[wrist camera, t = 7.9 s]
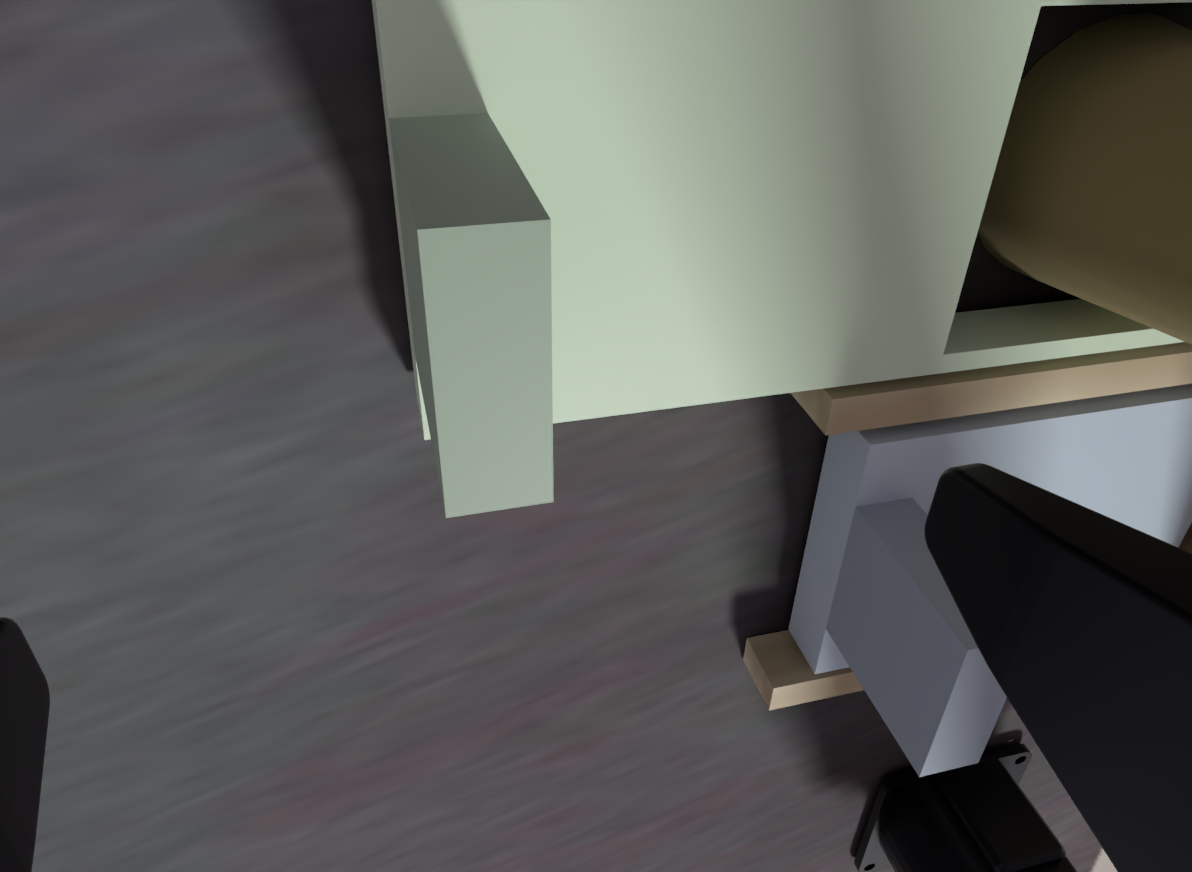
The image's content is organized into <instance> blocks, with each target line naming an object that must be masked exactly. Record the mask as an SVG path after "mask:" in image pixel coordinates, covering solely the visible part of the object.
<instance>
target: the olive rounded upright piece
mask: <svg viewBox="0 0 1192 872" xmlns="http://www.w3.org/2000/svg"><path fill="white" fill-rule="evenodd" d="M978 234H979V236H980V238H981V241H982V243H983V246H984V248H985V249H986V250H987V251H988V252H989V253H990V254H991V255H992V256H994V257H995V258H996V259H997V260H998V261H999V262H1000V263H1002V264H1003V265H1004V266H1005V267H1006V268H1009V269H1011V270H1014V271H1016V272H1018V273H1021V274H1023V275H1026V276H1028V277H1030V278H1033V279H1035V280H1038V281H1040V282H1043V283H1045V284H1047V285H1050V286H1052V287H1055V288H1057V289H1059V290H1062V291H1064V292H1067V293H1069V294H1071V295H1074V296H1076V297H1079V298H1081V299H1083V300H1086V301H1088V302H1091V303H1093V304H1095V305H1098V306H1100V307H1103V308H1105V309H1107V310H1110V311H1112V312H1115V313H1117V314H1119V315H1122V316H1124V317H1127V318H1129V319H1131V320H1134V321H1136V322H1139V323H1141V324H1143V325H1146V326H1148V327H1151V328H1153V329H1156V330H1158V331H1160V332H1163V333H1165V334H1168V335H1170V336H1172V337H1175V338H1177V339H1180V340H1182V341H1184V342H1187V343H1189V344H1192V30H1189V29H1187V28H1185V27H1183V26H1181V25H1179V24H1176V23H1174V22H1172V21H1170V20H1168V19H1166V18H1163V17H1161V16H1159V15H1157V14H1155V13H1153V14H1124V15H1116V16H1113V17H1111V18H1108V19H1106V20H1103V21H1101V22H1098V23H1096V24H1093V25H1091V26H1088V27H1086V28H1083V29H1081V30H1079V31H1077V32H1075V33H1074V34H1073V35H1071V36H1070V37H1069V38H1067V39H1066V40H1065V41H1063V42H1062V43H1061V44H1059V45H1058V46H1057V47H1055V48H1054V49H1053V50H1051V51H1050V52H1049V53H1047V54H1046V55H1045V56H1043V57H1042V58H1041V59H1039V60H1038V61H1037V63H1036V64H1035V65H1034V66H1033V67H1032V68H1031V70H1030V71H1029V72H1028V73H1027V74H1026V76H1025V77H1024V78H1023V79H1022V80H1021V81H1020V83H1019V87H1018V90H1017V94H1016V97H1015V101H1014V104H1013V108H1012V112H1011V115H1010V119H1009V122H1008V126H1007V129H1006V133H1005V136H1004V140H1003V144H1002V147H1001V151H1000V154H999V158H998V161H997V165H996V169H995V172H994V176H993V179H992V183H991V186H990V190H989V193H988V197H987V201H986V204H985V208H984V211H983V215H982V218H981V222H980V226H979V229H978Z"/></svg>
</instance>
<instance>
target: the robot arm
mask: <svg viewBox="0 0 1192 872" xmlns="http://www.w3.org/2000/svg"><path fill="white" fill-rule="evenodd" d="M924 533H925V540H926V544H927V547H928V549H929V551H930V553H931V555H932V557H933V559H934V561H935V563H936V565H937V567H938V569H939V571H940V573H941V575H942V577H943V579H944V581H945V583H946V585H947V587H948V589H949V591H950V593H951V595H952V597H953V599H954V601H955V603H956V605H957V607H958V609H959V611H960V613H961V615H962V617H963V619H964V621H965V623H966V625H967V627H968V629H969V631H970V633H971V635H972V637H973V639H974V641H975V643H976V645H977V647H978V649H979V651H980V653H981V654H982V656H983V658H984V660H985V662H986V664H987V666H988V667H989V669H990V671H991V672H992V674H993V676H994V677H995V679H996V681H997V682H998V684H999V686H1000V687H1001V689H1002V690H1003V692H1004V693H1005V695H1006V697H1007V698H1008V700H1009V701H1010V703H1011V704H1012V706H1013V708H1014V709H1015V711H1016V712H1017V714H1018V715H1019V717H1020V719H1021V720H1022V722H1023V723H1024V725H1025V726H1026V728H1027V730H1028V731H1029V733H1030V734H1031V736H1032V737H1033V739H1034V741H1035V742H1036V744H1037V745H1038V747H1039V748H1040V750H1041V752H1042V753H1043V755H1044V756H1045V758H1046V759H1047V761H1048V763H1049V764H1050V766H1051V767H1052V769H1053V770H1054V772H1055V774H1056V775H1057V777H1058V778H1059V780H1060V782H1061V783H1062V785H1063V786H1064V788H1065V789H1066V791H1067V793H1068V794H1069V796H1070V797H1071V799H1072V800H1073V802H1074V804H1075V805H1076V807H1077V808H1078V810H1079V811H1080V813H1081V815H1082V816H1083V818H1084V819H1085V821H1086V822H1087V824H1088V826H1089V827H1090V829H1091V830H1092V832H1093V833H1094V835H1095V837H1096V838H1097V840H1098V841H1099V843H1100V844H1101V846H1102V848H1103V849H1104V851H1105V852H1106V854H1107V855H1108V857H1109V859H1110V860H1111V862H1112V863H1113V865H1114V866H1115V868H1116V869H1117V871H1118V872H1192V553H1190V552H1187V551H1185V550H1183V549H1181V548H1178V547H1176V546H1174V545H1171V544H1169V543H1167V542H1164V541H1162V540H1160V539H1157V538H1155V537H1153V536H1151V535H1148V534H1146V533H1144V532H1141V531H1139V530H1137V529H1134V528H1132V527H1130V526H1128V525H1125V524H1123V523H1121V522H1118V521H1116V520H1114V519H1111V518H1109V517H1107V516H1104V515H1102V514H1100V513H1098V512H1095V511H1093V510H1091V509H1088V508H1086V507H1084V506H1081V505H1079V504H1077V503H1075V502H1072V501H1070V500H1068V499H1065V498H1063V497H1061V496H1058V495H1056V494H1054V493H1052V492H1049V491H1047V490H1045V489H1042V488H1040V487H1038V486H1035V485H1033V484H1031V483H1028V482H1026V481H1024V480H1022V479H1019V478H1017V477H1015V476H1012V475H1010V474H1008V473H1005V472H1003V471H1001V470H999V469H996V468H994V467H992V466H989V465H987V464H983V463H973V464H967V465H961V466H954V467H950V468H948V469H946V470H945V471H944V472H943V473H942V474H941V475H940V478H939V480H938V483H937V487H936V490H935V493H934V496H933V500H932V503H931V506H930V509H929V512H928V516H927V519H926V522H925V530H924ZM49 707H50V695H49V688H48V684H47V680H46V678H45V676H44V674H43V672H42V670H41V668H40V666H39V664H38V662H37V660H36V658H35V656H34V654H33V652H32V650H31V648H30V646H29V644H28V642H27V640H26V638H25V636H24V635H23V633H22V631H21V629H20V627H19V626H18V625H17V623H16V622H14V621H13V620H12V619H9V618H0V872H31V871H32V863H33V856H34V848H35V840H36V830H37V821H38V811H39V802H40V793H41V783H42V774H43V764H44V755H45V746H46V736H47V727H48V717H49ZM1031 757H1032V754H1031V752H1030V751H1029V750H1028V749H1027V747H1026V746H1025V745H1024V744H1016V745H1012V746H1008V747H1003V748H999V749H995V750H991V751H987V752H983V754H982V756H981V758H980V760H979V763H976V764H972V765H968V766H964V767H960V768H955V769H951V770H947V771H943V772H939V773H935V774H931V775H926V776H922V777H919V776H918V774H917V773H916V771H915V770H914V769H911V770H907V771H903V772H899V773H895V774H892V775H890V776H888V777H886V778H885V779H884V780H883V781H882V783H881V785H880V788H879V791H878V794H877V797H876V799H875V802H874V805H873V808H872V811H871V814H870V817H869V820H868V823H867V826H866V829H865V831H864V834H863V837H862V840H861V843H860V846H859V849H858V852H857V855H856V858H855V861H854V864H855V866H856V868H857V870H858V872H876V871H879V870H883V869H887V868H891V867H893V869H894V871H895V872H1077V870H1076V869H1075V868H1074V866H1073V865H1072V863H1071V862H1070V861H1069V859H1068V858H1067V857H1066V851H1065V849H1064V847H1063V846H1062V845H1061V843H1060V842H1059V840H1058V839H1057V838H1056V836H1055V835H1054V834H1053V832H1052V831H1051V829H1050V828H1049V827H1048V825H1047V824H1046V823H1045V821H1044V820H1043V818H1042V817H1041V816H1040V814H1039V813H1038V812H1037V810H1036V809H1035V807H1034V806H1033V805H1032V803H1031V802H1030V801H1029V799H1028V798H1027V796H1026V795H1025V794H1024V792H1023V791H1022V790H1021V788H1020V787H1019V785H1018V783H1019V781H1020V779H1021V777H1022V775H1023V773H1024V771H1025V769H1026V767H1027V765H1028V763H1029V761H1030V759H1031Z"/></svg>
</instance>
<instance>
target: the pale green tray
mask: <svg viewBox="0 0 1192 872" xmlns="http://www.w3.org/2000/svg"><path fill="white" fill-rule="evenodd" d="M1180 2H1192V0H372V8H373V17H374V26H375V34H376V43H377V52H378V61H379V70H380V79H381V87H382V96H383V105H384V114H385V123H386V132H387V140H388V149H389V158H390V167H391V176H392V185H393V193H394V202H395V211H396V220H397V229H398V238H399V246H400V255H401V264H402V273H403V282H404V291H405V300H406V308H407V317H408V326H409V335H410V344H411V353H412V361H413V370H414V379H415V388H416V396H417V401H418V407H419V412H420V418H421V423H422V429H423V434H424V440H428V439H431V442H432V447H433V453H434V458H435V463H436V468H437V473H438V479H439V484H440V489H441V494H442V500H443V505H444V510H445V515H446V518H449V517H456V516H463V515H469V514H476V513H483V512H489V511H496V510H503V509H510V508H516V507H523V506H530V505H536V504H543V503H550V502H553V423H560V422H568V421H576V420H583V419H591V418H599V417H607V416H614V415H622V414H630V413H638V412H645V411H653V410H661V409H669V408H676V407H684V406H692V405H700V404H707V403H715V402H723V401H731V400H738V399H746V398H754V397H762V396H769V395H777V394H785V393H793V392H800V391H808V390H816V389H824V388H831V387H839V386H847V385H855V384H862V383H870V382H878V381H886V380H893V379H901V378H909V377H917V376H924V375H932V374H940V373H948V372H955V371H963V370H971V369H979V368H986V367H994V366H1002V365H1010V364H1017V363H1025V362H1033V361H1041V360H1048V359H1056V358H1064V357H1072V356H1079V355H1087V354H1095V353H1103V352H1110V351H1118V350H1126V349H1134V348H1141V347H1149V346H1157V345H1165V344H1172V343H1180V342H1184V341H1182V340H1180V339H1177V338H1175V337H1172V336H1170V335H1168V334H1165V333H1163V332H1160V331H1158V330H1156V329H1153V328H1151V327H1148V326H1146V325H1143V324H1141V323H1139V322H1136V321H1134V320H1131V319H1129V318H1127V317H1124V316H1122V315H1119V314H1117V313H1115V312H1112V311H1110V310H1107V309H1105V308H1103V307H1100V306H1098V305H1095V304H1093V303H1091V302H1088V301H1086V300H1083V299H1074V300H1065V301H1056V302H1048V303H1039V304H1030V305H1021V306H1012V307H1003V308H994V309H985V310H976V311H967V312H959V313H955V311H956V308H957V304H958V300H959V297H960V293H961V290H962V286H963V283H964V279H965V275H966V272H967V268H968V265H969V261H970V258H971V254H972V251H973V247H974V243H975V240H976V236H977V233H978V229H979V226H980V222H981V218H982V215H983V211H984V208H985V204H986V201H987V197H988V193H989V190H990V186H991V183H992V179H993V176H994V172H995V169H996V165H997V161H998V158H999V154H1000V151H1001V147H1002V144H1003V140H1004V136H1005V133H1006V129H1007V126H1008V122H1009V119H1010V115H1011V112H1012V108H1013V104H1014V101H1015V97H1016V94H1017V90H1018V87H1019V83H1020V79H1021V76H1022V72H1023V69H1024V65H1025V62H1026V58H1027V55H1028V51H1029V47H1030V44H1031V40H1032V37H1033V33H1034V30H1035V26H1036V22H1037V19H1038V15H1039V12H1040V8H1041V6H1063V5H1102V4H1141V3H1180Z"/></svg>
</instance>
